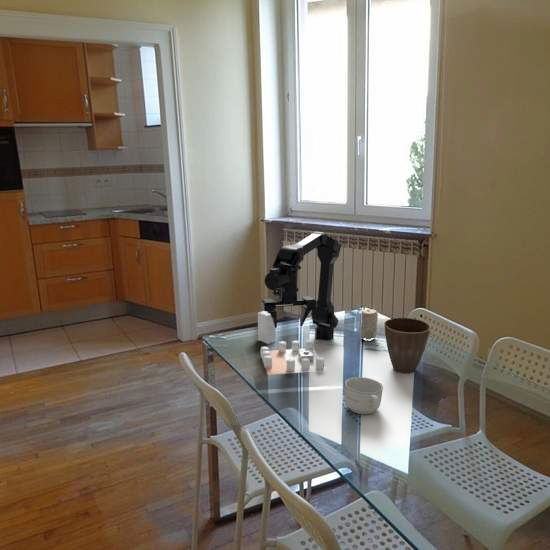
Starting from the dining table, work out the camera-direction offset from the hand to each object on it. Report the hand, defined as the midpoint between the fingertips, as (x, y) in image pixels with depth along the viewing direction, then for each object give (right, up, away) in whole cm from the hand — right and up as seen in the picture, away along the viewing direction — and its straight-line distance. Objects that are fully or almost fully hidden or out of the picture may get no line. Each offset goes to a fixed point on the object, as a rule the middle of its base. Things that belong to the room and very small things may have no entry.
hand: (288, 327), depth 179 cm
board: (+1, -13, +1) cm, 13 cm away
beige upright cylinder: (+32, -7, +23) cm, 40 cm away
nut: (+6, -12, +1) cm, 13 cm away
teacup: (+21, -21, -32) cm, 43 cm away
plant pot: (+39, -14, -3) cm, 42 cm away
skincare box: (-8, -8, +19) cm, 22 cm away
